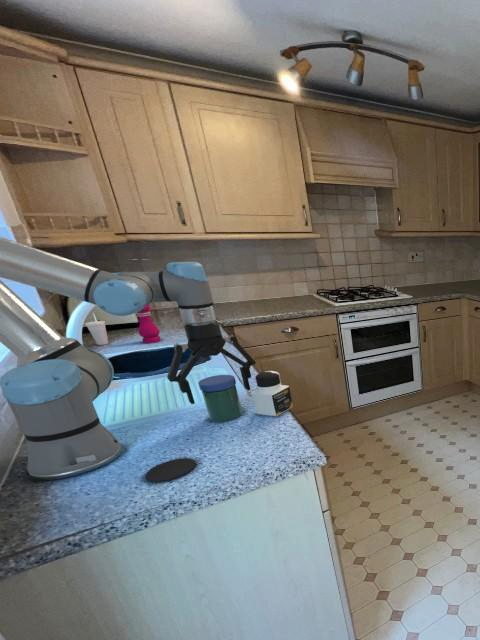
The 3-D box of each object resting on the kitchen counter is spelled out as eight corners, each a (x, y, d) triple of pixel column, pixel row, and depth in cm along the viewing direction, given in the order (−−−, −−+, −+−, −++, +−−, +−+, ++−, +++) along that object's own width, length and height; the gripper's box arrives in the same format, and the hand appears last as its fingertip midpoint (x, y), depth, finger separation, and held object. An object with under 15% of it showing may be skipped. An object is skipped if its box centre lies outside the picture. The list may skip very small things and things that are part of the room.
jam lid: (229, 390, 111) (228, 384, 111) (194, 392, 109) (192, 386, 109) (240, 379, 119) (239, 373, 118) (207, 381, 117) (205, 375, 116)
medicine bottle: (276, 416, 117) (268, 378, 113) (255, 414, 119) (246, 376, 114) (293, 406, 124) (286, 370, 120) (273, 404, 125) (265, 368, 121)
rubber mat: (134, 482, 87) (133, 480, 87) (167, 459, 96) (167, 457, 96) (176, 483, 88) (175, 481, 87) (205, 460, 96) (205, 458, 96)
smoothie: (114, 343, 181) (103, 312, 176) (95, 346, 176) (83, 314, 171) (109, 341, 185) (98, 310, 179) (90, 344, 180) (78, 313, 174)
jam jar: (204, 423, 113) (194, 388, 109) (216, 411, 120) (207, 378, 116) (237, 420, 115) (228, 386, 111) (246, 408, 122) (238, 376, 118)
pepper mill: (162, 338, 191) (148, 295, 183) (162, 341, 185) (148, 298, 178) (142, 340, 186) (127, 297, 179) (141, 344, 181) (126, 299, 174)
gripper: (142, 333, 96) (169, 413, 104) (257, 317, 114) (272, 387, 122) (137, 327, 101) (162, 404, 109) (248, 313, 118) (263, 380, 126)
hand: (221, 395), depth 115 cm, fingers open, 13 cm apart
